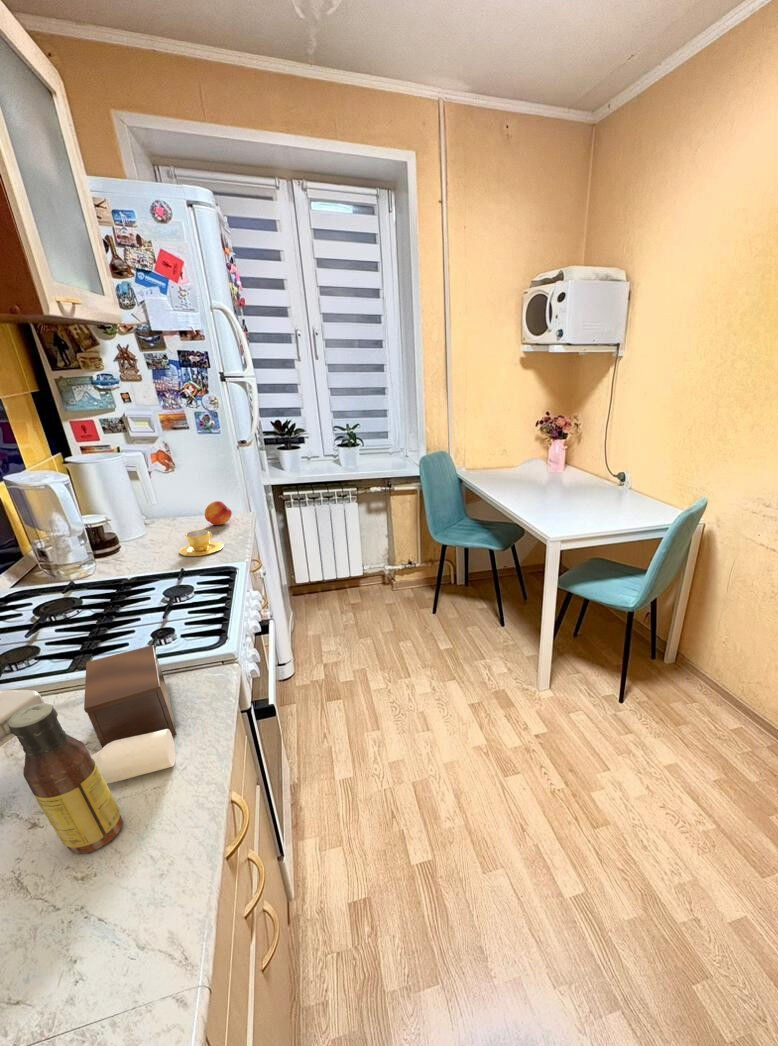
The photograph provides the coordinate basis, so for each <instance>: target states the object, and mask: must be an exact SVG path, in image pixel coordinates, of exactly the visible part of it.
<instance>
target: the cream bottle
mask: <svg viewBox="0 0 778 1046" xmlns="http://www.w3.org/2000/svg"><path fill="white" fill-rule="evenodd" d="M90 756H91V757H92V759H94V761H95V763H96V765H97V767H98V769H99V771H100V772H101V774H102V776H103V778H104V780H105V782H106V784H113V783H116V782H120V781H124V780H128V779H132V778H135V777H139V776H142V775H147V774H150V773H153V772H158V771H161V770H166V769H168V768H172V767H174V766H175V765H176V745H175V740H174V736H173V737H172V734H171V732H170V730H169V729H165V730H160V731H156V732H152V733H147V734H143V735H138V736H134V737H129V738H124V739H120V740H116V741H113V742H110V743H108V744H107V745H105V746H104V747H103V748H102V747H101V749H100V750H98V751H97V752H94V753H93V754H91V755H90Z"/></svg>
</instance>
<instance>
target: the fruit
mask: <svg viewBox="0 0 778 1046" xmlns="http://www.w3.org/2000/svg"><path fill="white" fill-rule="evenodd" d="M232 515H233V511H232V510H231V509H230V508H229V507H228V506H227V505H226V504H225V503H224V502H223V501H221V500H215V501H213V502H210V503H209V504H208V505H207V506H206V508H205V510H204V518H205V520H206V521H207V522H209V523H210V524H211V525H214V526H220V525H224V524H225V523H227V522H229V521H230V519H231V518H232Z"/></svg>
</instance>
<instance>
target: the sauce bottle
mask: <svg viewBox="0 0 778 1046" xmlns="http://www.w3.org/2000/svg"><path fill="white" fill-rule="evenodd" d="M58 715H59V714H58V712H57V710H56V709H55V707H54V706H53V705H52V704H50V703H45V702H44V703H42V704H36V705H33V706H29V707H26V708H23V709H21V710H20V711H18V712H16V713H15V714H14V715H13V716H12V717H11V718H10V719H9V721H8V726H9V729H10V731H11V732H12V734H14V735H15V737H16V738H17V740H18V741H19V744H20V745H21V747H22V750H23V753H24V766H23V772H22V774H23V777H24V779H25V782H26V783H27V785H28V787H29V789H30V791H31V793H32V795H33V796H34V798H35V800H36V802H37V803H38V805H39V807H40V808H41V810H42V812H43V813H44V815H45V816H46V818H47V820H48V821H49V824H51V826H52V828H53V829H54V830H55V832H56V834H57V836H58V837H59V839H60V841H61V842H62V844H63V845H64V846H66V848H67V850H69V851H71V852H73V853H75V854H89V853H92V852H94V851H97V850H98V849H100V848H102V847H104V846H106V845H107V844H109V843H111V842H112V841H113V840H114V838H116V837H117V836H118V835H119V833H120V831H121V830H122V828H123V825H124V821H123V820H124V819H123V816H122V814H121V810H120V808H119V805H118V804H117V802H116V800H115V798H114V796H113V794H112V792H111V789H110V788H109V786H108V783H106V782H105V780H104V778H103V776H102V774H101V772H100V771H99V769H98V767H97V765H96V763H95V761H94V759H92V757H91V756H92V755H91V754H90V752H89V750H88V748H87V746H86V744H85V743H84V742H83V741H82V740H79V739H77V738H75V737H73V736H71V735H69V734H67V733H66V731H65V730H64V729H63V727H62V726H61V723H60V722H59V720H58Z"/></svg>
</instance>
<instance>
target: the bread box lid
mask: <svg viewBox="0 0 778 1046" xmlns="http://www.w3.org/2000/svg"><path fill="white" fill-rule="evenodd" d="M155 652H156V649H155V646H154V645H153V644H151V645H148V646H143V647H140V648H136V649H131V650H127V651H123V652H121V653H116V654H112V655H108V656H104V657H101V658H97V659H93V660H89V661H86V663H85V665H86V666H85V681H84V682H85V685H84V700H83V701H84V703H83V709H84V712H85V713H86V714H87V712H91V711H94V710H98V709H101V708H104V707H108V706H111V705H114V704H118V703H121V702H125V701H128V700H131V699H135V698H138V697H141V696H145V695H148V694H152V693H155V692H158V691H161V685H160V679H159V674H158V668H157V662H156V656H157V655H156V656H155Z"/></svg>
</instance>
